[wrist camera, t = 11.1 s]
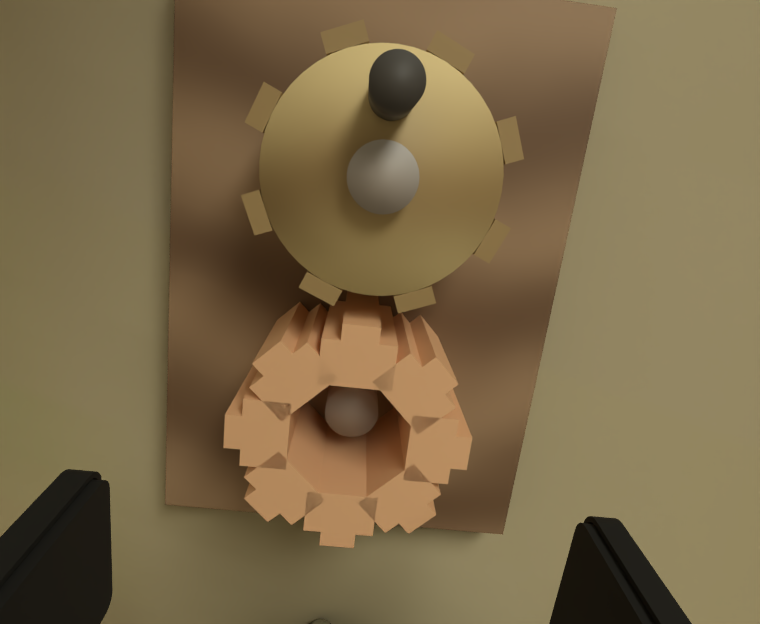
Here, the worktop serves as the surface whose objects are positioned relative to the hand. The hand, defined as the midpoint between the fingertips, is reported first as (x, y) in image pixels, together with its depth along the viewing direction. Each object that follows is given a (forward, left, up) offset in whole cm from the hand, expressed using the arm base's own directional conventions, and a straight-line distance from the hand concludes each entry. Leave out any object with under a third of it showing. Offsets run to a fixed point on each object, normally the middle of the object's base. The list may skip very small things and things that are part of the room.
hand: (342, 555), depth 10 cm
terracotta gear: (+1, 0, -10) cm, 10 cm away
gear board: (-3, 0, -11) cm, 12 cm away
